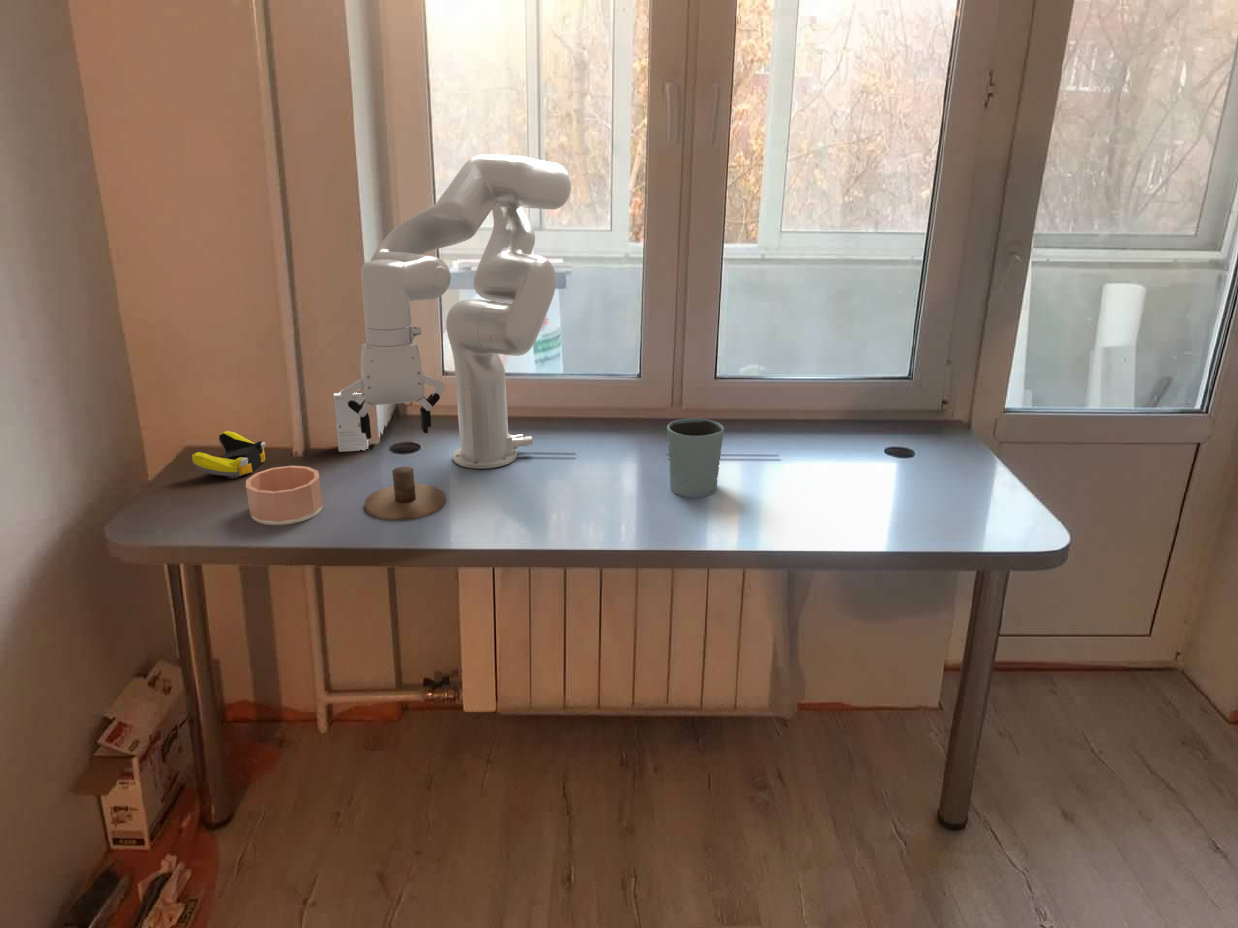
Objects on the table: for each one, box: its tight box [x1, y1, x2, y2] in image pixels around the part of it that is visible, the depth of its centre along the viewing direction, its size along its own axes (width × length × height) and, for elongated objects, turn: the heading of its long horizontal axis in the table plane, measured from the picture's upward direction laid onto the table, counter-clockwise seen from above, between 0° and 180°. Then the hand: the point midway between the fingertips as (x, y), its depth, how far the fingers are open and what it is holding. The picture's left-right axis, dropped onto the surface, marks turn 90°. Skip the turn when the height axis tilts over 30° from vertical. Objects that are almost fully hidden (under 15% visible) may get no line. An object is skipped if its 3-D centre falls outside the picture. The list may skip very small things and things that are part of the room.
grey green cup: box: [666, 417, 725, 498], centre depth 176 cm, size 10×10×12 cm
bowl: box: [245, 465, 324, 526], centre depth 168 cm, size 12×12×6 cm
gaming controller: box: [191, 430, 266, 479], centre depth 187 cm, size 15×6×10 cm
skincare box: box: [332, 392, 369, 453], centre depth 196 cm, size 6×4×12 cm
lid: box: [364, 466, 447, 521], centre depth 171 cm, size 14×14×7 cm
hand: (396, 433), depth 167 cm, fingers open, 9 cm apart
